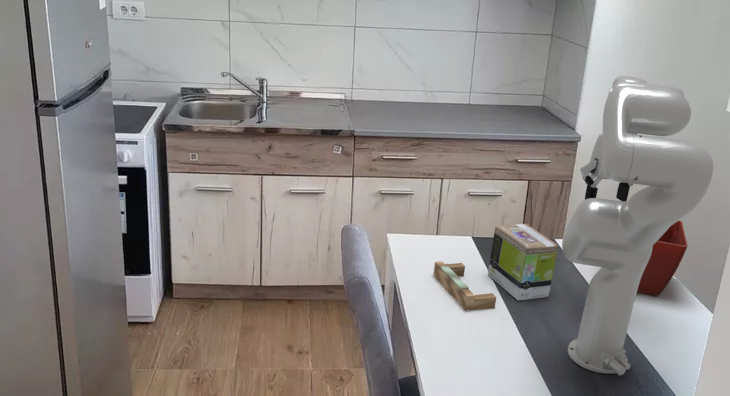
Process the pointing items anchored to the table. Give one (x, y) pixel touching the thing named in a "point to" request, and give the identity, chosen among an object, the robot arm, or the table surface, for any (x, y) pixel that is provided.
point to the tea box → (522, 261)
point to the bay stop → (461, 287)
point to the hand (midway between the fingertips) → (605, 200)
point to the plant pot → (664, 260)
